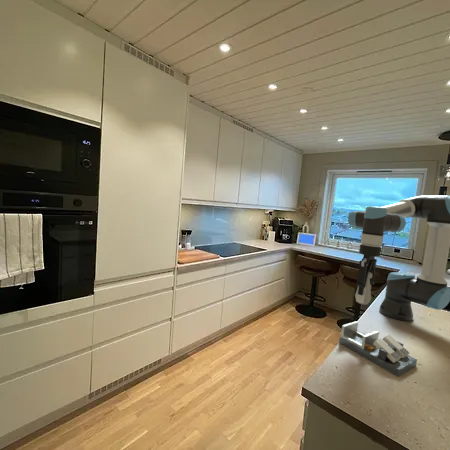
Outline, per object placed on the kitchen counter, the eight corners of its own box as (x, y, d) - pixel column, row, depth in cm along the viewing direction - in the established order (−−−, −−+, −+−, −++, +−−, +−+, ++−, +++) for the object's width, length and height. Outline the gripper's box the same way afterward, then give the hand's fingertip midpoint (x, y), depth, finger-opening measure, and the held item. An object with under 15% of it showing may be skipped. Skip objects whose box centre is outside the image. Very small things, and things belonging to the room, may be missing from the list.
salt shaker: (369, 302, 105) (374, 271, 104) (370, 306, 100) (375, 274, 99) (354, 298, 108) (358, 268, 107) (354, 302, 103) (358, 271, 101)
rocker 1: (378, 341, 95) (380, 338, 95) (398, 360, 89) (401, 356, 88) (372, 343, 93) (375, 340, 93) (393, 362, 87) (396, 359, 87)
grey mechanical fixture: (357, 336, 110) (359, 319, 109) (416, 366, 91) (419, 346, 91) (339, 342, 103) (341, 325, 102) (398, 376, 85) (401, 355, 84)
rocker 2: (387, 337, 99) (389, 334, 98) (407, 355, 93) (410, 352, 92) (382, 339, 97) (385, 336, 96) (402, 358, 91) (405, 355, 90)
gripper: (368, 242, 111) (360, 293, 113) (352, 244, 98) (344, 302, 100) (387, 245, 106) (379, 299, 107) (373, 248, 92) (364, 309, 94)
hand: (362, 300), depth 104 cm, fingers closed on salt shaker, 6 cm apart
